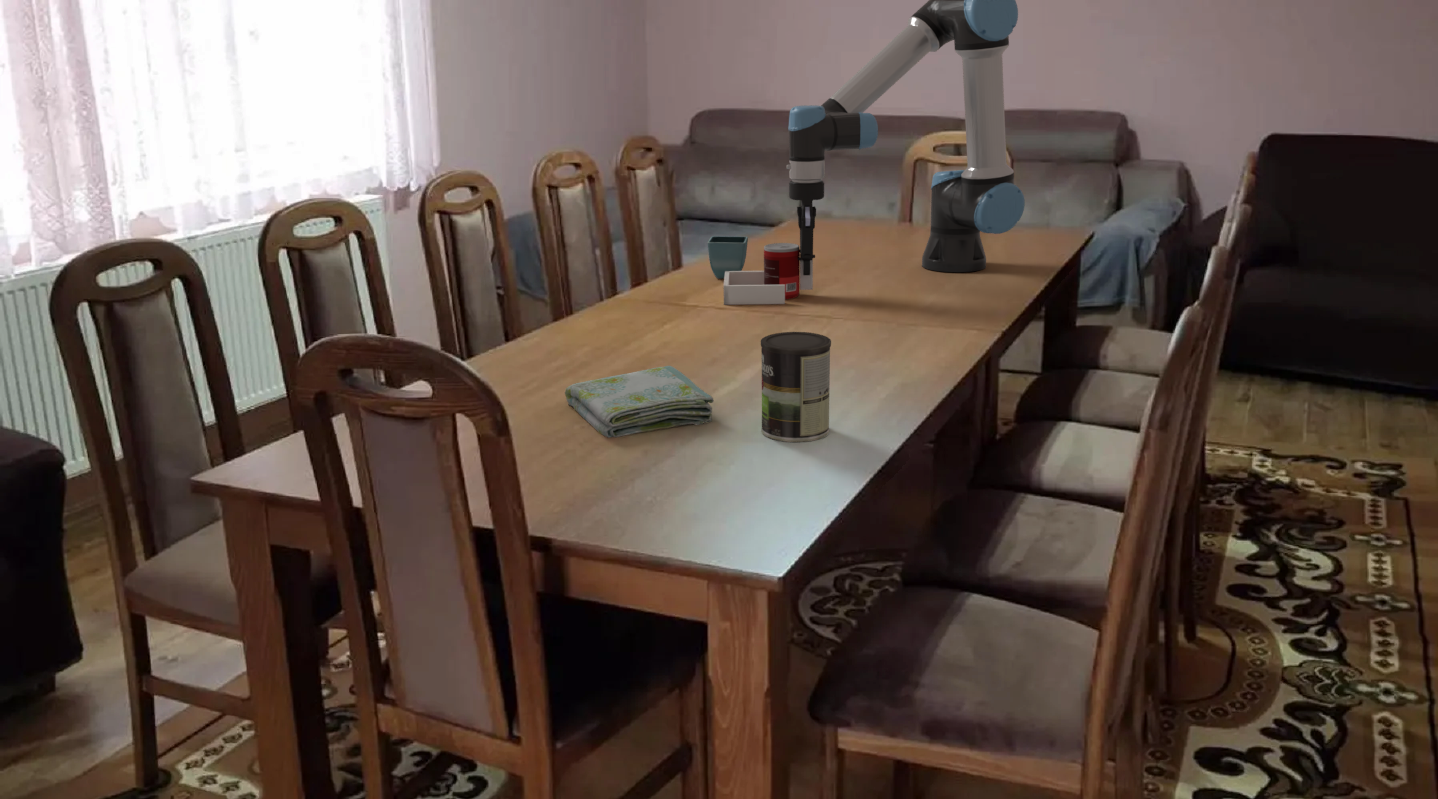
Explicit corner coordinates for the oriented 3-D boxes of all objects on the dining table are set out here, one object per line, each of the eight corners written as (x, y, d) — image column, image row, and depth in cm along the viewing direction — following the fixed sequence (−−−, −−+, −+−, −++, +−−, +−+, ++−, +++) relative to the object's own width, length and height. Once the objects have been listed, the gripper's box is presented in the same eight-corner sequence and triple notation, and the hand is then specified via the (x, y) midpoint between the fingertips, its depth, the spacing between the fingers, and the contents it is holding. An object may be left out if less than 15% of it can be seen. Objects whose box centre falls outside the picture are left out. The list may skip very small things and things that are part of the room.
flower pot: (748, 273, 304) (748, 235, 301) (745, 281, 295) (745, 242, 292) (711, 273, 304) (711, 235, 302) (707, 280, 296) (707, 242, 293)
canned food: (803, 292, 282) (803, 243, 279) (794, 300, 275) (794, 249, 271) (769, 291, 284) (769, 242, 281) (760, 298, 277) (759, 248, 273)
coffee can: (765, 444, 185) (764, 350, 181) (757, 422, 195) (756, 332, 191) (835, 441, 186) (836, 347, 182) (824, 419, 196) (825, 330, 192)
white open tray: (783, 288, 287) (783, 270, 286) (784, 303, 272) (784, 285, 270) (725, 288, 287) (724, 271, 286) (723, 304, 272) (723, 286, 271)
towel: (606, 443, 188) (604, 410, 187) (564, 404, 207) (562, 374, 205) (719, 426, 195) (719, 394, 193) (669, 390, 214) (668, 361, 212)
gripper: (788, 176, 278) (788, 282, 285) (789, 184, 266) (790, 295, 273) (822, 176, 278) (821, 282, 285) (826, 183, 265) (825, 295, 272)
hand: (806, 288), depth 279 cm, fingers closed
